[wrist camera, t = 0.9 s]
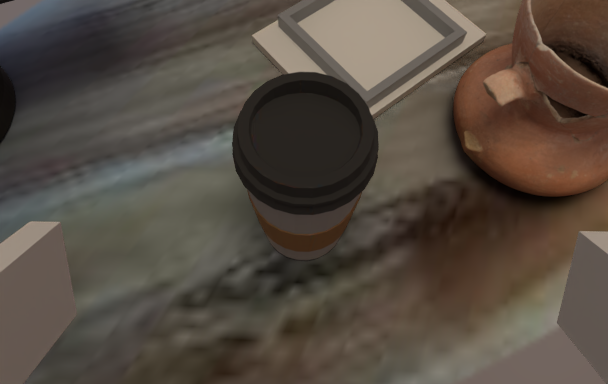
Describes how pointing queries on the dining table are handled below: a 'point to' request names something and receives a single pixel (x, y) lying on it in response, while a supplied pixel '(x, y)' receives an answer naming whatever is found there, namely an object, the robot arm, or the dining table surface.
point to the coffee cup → (305, 159)
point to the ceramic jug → (541, 101)
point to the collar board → (370, 43)
